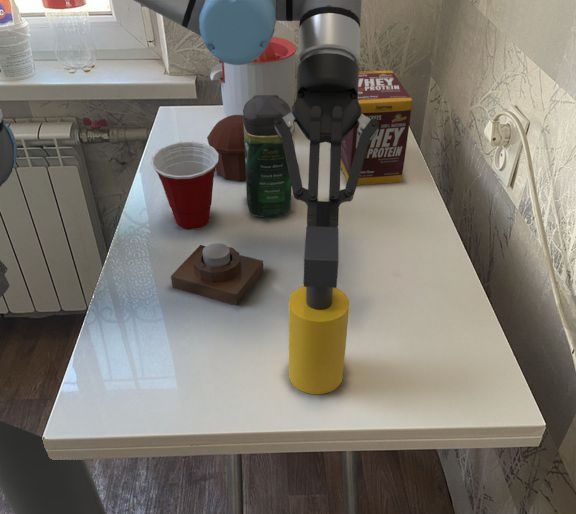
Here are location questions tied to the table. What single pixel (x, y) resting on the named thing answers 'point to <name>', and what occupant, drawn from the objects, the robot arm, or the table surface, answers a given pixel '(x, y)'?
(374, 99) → the supplement box
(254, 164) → the coffee jar
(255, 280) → the button box
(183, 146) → the plastic cup
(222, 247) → the button
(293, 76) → the citrus juicer
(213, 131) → the muffin
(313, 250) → the spray bottle
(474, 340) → the table surface
